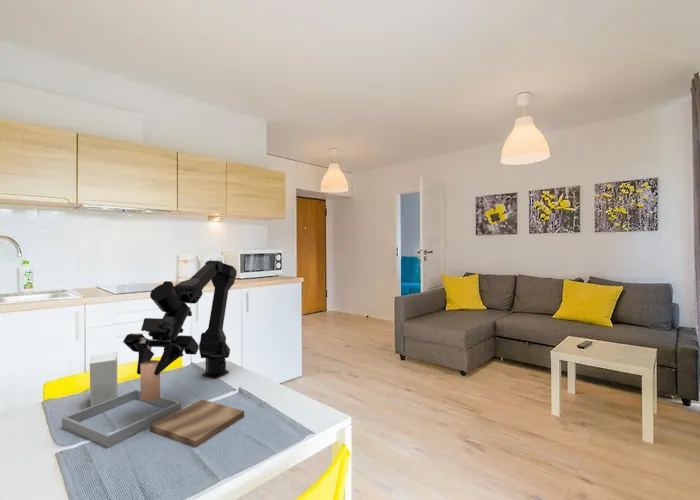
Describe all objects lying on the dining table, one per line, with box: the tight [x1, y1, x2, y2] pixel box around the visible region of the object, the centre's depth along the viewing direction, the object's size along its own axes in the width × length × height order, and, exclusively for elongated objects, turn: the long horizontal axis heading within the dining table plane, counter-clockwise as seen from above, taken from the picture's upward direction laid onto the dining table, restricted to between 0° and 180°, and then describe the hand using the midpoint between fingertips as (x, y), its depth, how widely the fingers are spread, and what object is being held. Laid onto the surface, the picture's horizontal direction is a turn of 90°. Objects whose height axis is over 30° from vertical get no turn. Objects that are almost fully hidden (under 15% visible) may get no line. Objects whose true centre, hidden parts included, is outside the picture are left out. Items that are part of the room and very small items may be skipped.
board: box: [149, 398, 245, 448], centre depth 92 cm, size 16×16×2 cm
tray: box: [61, 388, 182, 448], centre depth 94 cm, size 19×19×2 cm
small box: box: [89, 352, 119, 407], centre depth 104 cm, size 8×6×13 cm
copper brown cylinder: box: [139, 359, 161, 402], centre depth 91 cm, size 4×4×9 cm
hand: (146, 374), depth 90 cm, fingers closed on copper brown cylinder, 4 cm apart
